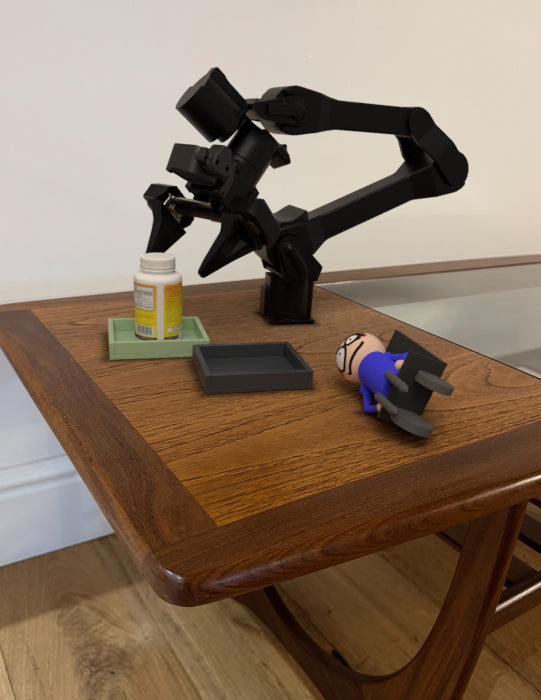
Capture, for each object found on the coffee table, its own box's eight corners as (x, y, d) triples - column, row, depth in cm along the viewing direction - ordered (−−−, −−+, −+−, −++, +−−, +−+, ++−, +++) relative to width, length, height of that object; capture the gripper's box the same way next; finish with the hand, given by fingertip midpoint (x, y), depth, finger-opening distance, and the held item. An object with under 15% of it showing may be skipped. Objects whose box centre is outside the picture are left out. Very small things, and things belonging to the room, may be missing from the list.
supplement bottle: (181, 333, 77) (182, 251, 73) (182, 348, 72) (183, 261, 68) (135, 332, 76) (134, 250, 72) (133, 348, 71) (131, 260, 67)
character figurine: (386, 456, 52) (328, 387, 66) (464, 444, 54) (391, 379, 67) (391, 371, 49) (329, 317, 63) (472, 361, 51) (395, 310, 65)
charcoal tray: (287, 357, 72) (288, 341, 72) (312, 388, 64) (313, 370, 63) (192, 361, 69) (192, 344, 69) (205, 394, 61) (205, 375, 60)
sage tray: (197, 331, 80) (198, 316, 79) (209, 356, 71) (210, 339, 71) (108, 333, 77) (107, 318, 76) (109, 360, 68) (109, 343, 68)
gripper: (153, 115, 76) (81, 212, 72) (270, 121, 65) (193, 236, 61) (198, 179, 84) (136, 269, 80) (308, 194, 74) (243, 299, 69)
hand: (172, 268), depth 72 cm, fingers open, 9 cm apart
